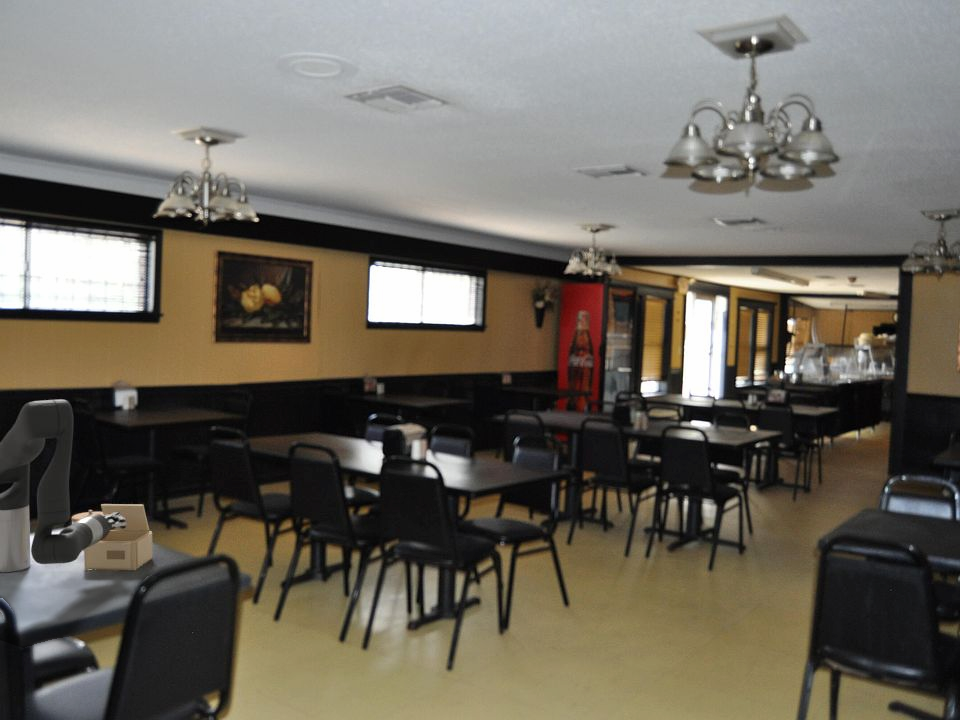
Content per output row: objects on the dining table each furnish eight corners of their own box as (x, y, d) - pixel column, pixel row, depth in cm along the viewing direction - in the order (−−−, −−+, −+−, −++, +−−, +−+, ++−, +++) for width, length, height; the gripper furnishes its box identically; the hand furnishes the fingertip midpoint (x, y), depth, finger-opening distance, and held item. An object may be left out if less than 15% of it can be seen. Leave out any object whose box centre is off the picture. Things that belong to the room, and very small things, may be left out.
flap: (107, 530, 249) (100, 505, 245) (108, 529, 250) (101, 504, 246) (148, 530, 249) (142, 505, 245) (149, 529, 250) (143, 504, 245)
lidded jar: (71, 537, 272) (70, 508, 271) (108, 534, 277) (107, 505, 276) (73, 546, 262) (72, 515, 262) (111, 541, 267) (110, 512, 267)
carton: (81, 570, 237) (81, 542, 237) (102, 557, 250) (102, 530, 249) (135, 571, 237) (135, 542, 237) (153, 558, 250) (153, 531, 249)
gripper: (112, 517, 225) (140, 502, 242) (62, 517, 225) (93, 502, 242) (113, 545, 225) (140, 529, 242) (63, 545, 225) (94, 528, 243)
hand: (117, 515), depth 242 cm, fingers closed
